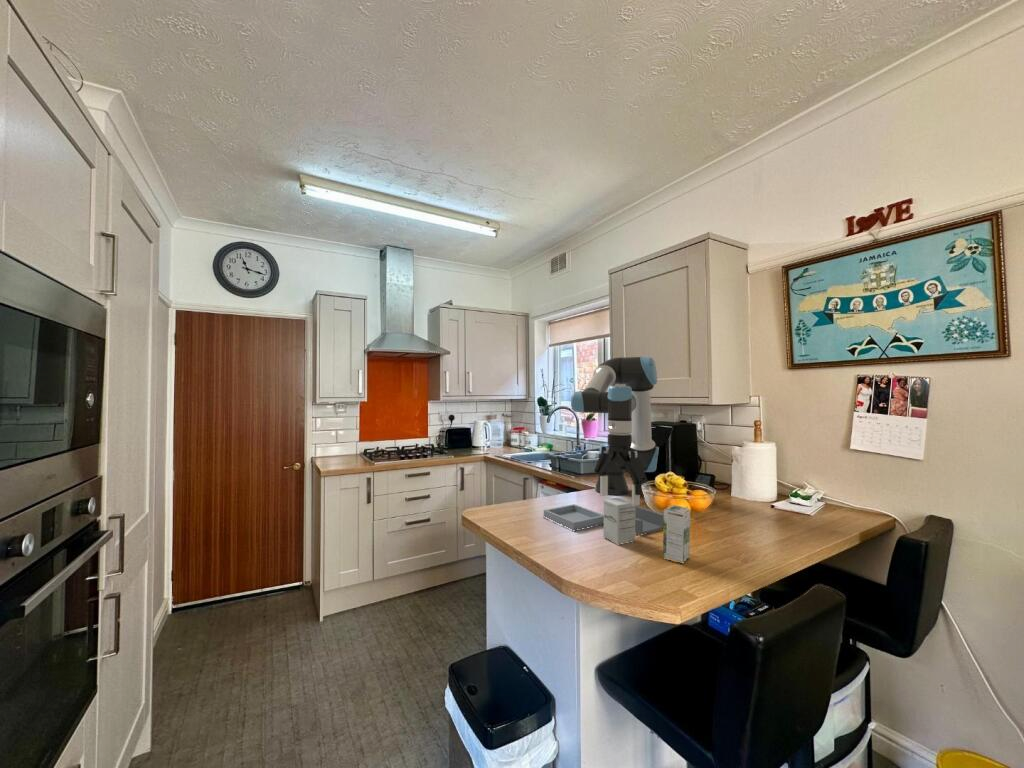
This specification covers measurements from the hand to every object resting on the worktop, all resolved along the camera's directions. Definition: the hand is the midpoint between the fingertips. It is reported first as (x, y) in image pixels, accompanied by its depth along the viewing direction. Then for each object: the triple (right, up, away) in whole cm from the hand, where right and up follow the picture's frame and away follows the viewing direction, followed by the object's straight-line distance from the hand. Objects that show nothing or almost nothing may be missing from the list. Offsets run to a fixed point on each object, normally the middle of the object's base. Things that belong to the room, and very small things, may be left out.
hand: (619, 500), depth 133 cm
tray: (-12, -13, +19) cm, 26 cm away
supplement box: (0, -13, 0) cm, 13 cm away
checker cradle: (+10, -13, +13) cm, 21 cm away
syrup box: (+13, -13, -14) cm, 23 cm away
